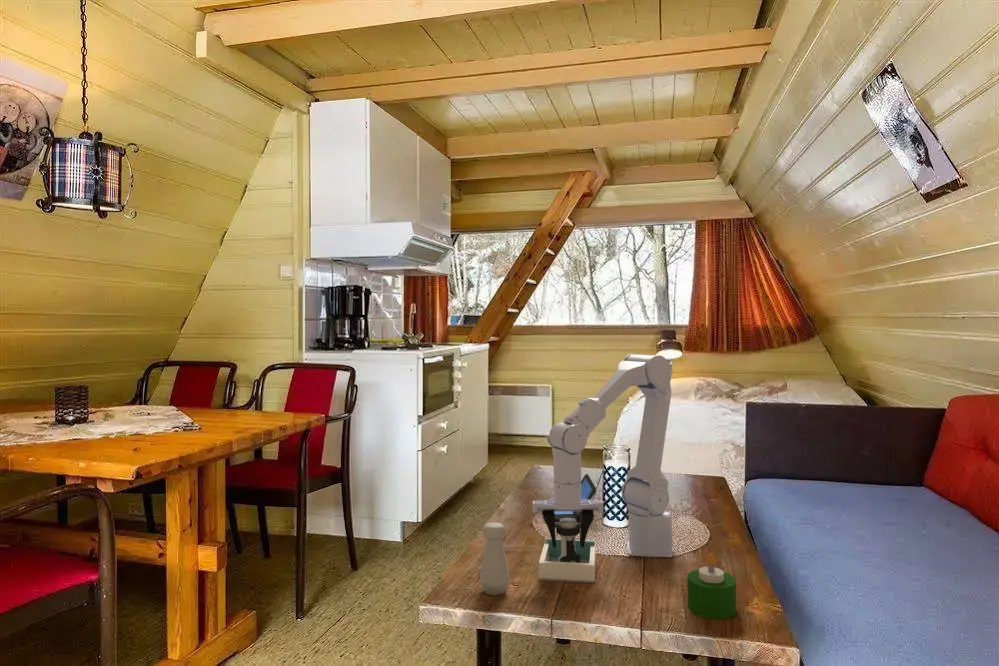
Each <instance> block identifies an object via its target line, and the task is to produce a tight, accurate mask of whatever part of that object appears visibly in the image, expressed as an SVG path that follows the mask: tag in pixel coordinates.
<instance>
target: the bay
mask: <svg viewBox="0 0 999 666" xmlns="http://www.w3.org/2000/svg"><path fill="white" fill-rule="evenodd" d="M541 551H542V552H541V554H540V557H539V562H538V569H539V570H538V571H539V572H538V577H539V578H538V580H539V581H549V582H550V581H552V582H566V583H567V582H571V583H586V584H587V583H588V584H595V583H596V582H595V581H596V580H595V578H596V562H597V561H596V545H595V546H593V545H591V547H590V560H588V559H580V562H581V563H572V562H558V558H551V557H549V543H544V544H543V547H542V550H541ZM595 561H596V562H595Z"/></svg>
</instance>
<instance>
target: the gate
mask: <svg viewBox="0 0 999 666" xmlns="http://www.w3.org/2000/svg"><path fill="white" fill-rule="evenodd" d="M543 540H544V543H549V558H559V557H561V538H557V537H556V547H553V546H552V539H551V537H544V539H543ZM575 545H576V553H577V554H580V559H588V560H590V547H591V545H593V546H595V547H596V544H595V540H594V539H593V540H592V539H591V540H590V539H585V544H584V547H581V546H580V539H576V538H575Z"/></svg>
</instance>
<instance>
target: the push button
mask: <svg viewBox="0 0 999 666" xmlns="http://www.w3.org/2000/svg"><path fill="white" fill-rule="evenodd" d="M580 528H581V525H580V523H578V522H576V519H573V518H562V519H560V520H559V522H558V523H555V533H556V534H557V535H559V536H560V539H561V557H559V558H558V562H572V563H581V562H580V554H577V553H576V545H575V539H576V536H577V535H580Z"/></svg>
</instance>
